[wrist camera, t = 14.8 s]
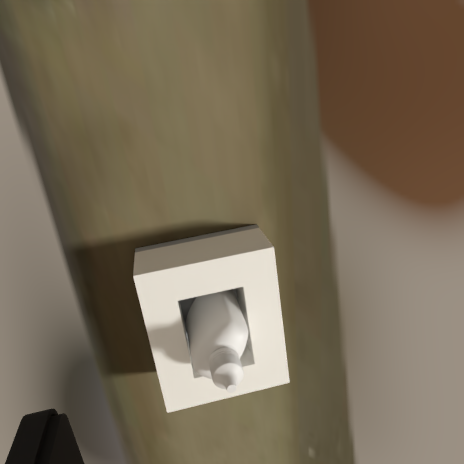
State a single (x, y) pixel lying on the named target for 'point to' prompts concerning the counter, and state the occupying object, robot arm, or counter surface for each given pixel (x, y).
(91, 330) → the counter surface
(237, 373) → the eye dropper bottle
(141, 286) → the keyed holder
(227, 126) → the counter surface
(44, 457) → the robot arm
